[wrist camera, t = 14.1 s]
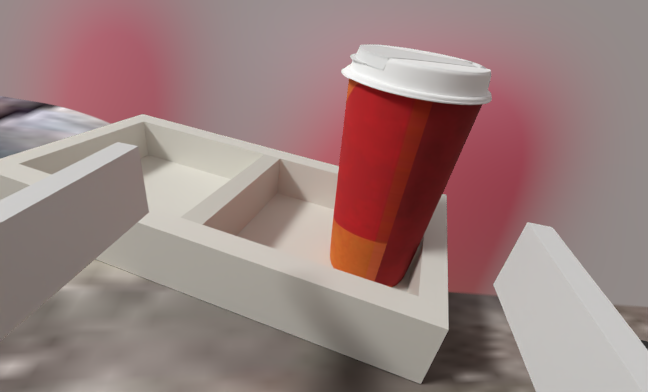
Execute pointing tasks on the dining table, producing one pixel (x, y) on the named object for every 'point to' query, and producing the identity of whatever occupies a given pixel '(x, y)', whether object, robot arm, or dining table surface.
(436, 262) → the cup carrier
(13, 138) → the dining table surface
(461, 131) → the paper cup
